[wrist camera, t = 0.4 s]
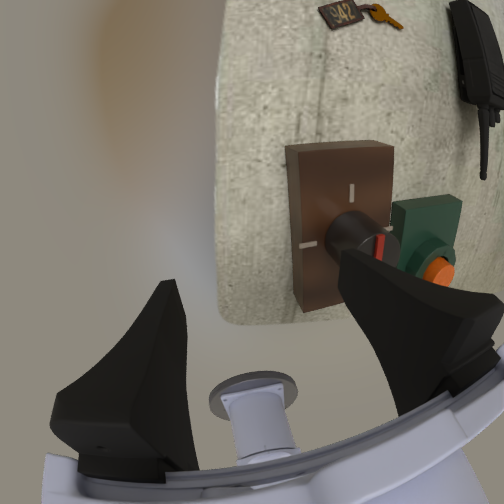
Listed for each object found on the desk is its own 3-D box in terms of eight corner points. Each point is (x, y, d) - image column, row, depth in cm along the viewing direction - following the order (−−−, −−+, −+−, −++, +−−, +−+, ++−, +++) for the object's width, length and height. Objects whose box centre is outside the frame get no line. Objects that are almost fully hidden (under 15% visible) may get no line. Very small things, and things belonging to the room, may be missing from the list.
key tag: (325, 29, 15) (328, 28, 15) (314, -2, 14) (317, -4, 13) (402, 29, 15) (406, 28, 15) (393, 2, 14) (397, 0, 13)
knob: (369, 254, 22) (397, 282, 19) (324, 265, 22) (347, 297, 18) (374, 206, 20) (407, 230, 16) (324, 214, 20) (352, 241, 16)
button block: (434, 269, 30) (453, 286, 26) (380, 286, 29) (398, 308, 26) (449, 193, 25) (474, 207, 21) (392, 201, 24) (418, 218, 20)
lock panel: (366, 275, 28) (382, 292, 25) (290, 294, 27) (300, 315, 24) (376, 139, 21) (398, 146, 18) (280, 145, 20) (294, 152, 17)
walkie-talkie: (488, 20, 12) (503, 180, 20) (443, 12, 15) (459, 170, 24) (496, 1, 8) (518, 191, 16) (443, -9, 11) (466, 179, 19)
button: (440, 280, 26) (449, 289, 24) (418, 289, 25) (427, 298, 24) (447, 253, 24) (458, 261, 23) (425, 260, 24) (436, 269, 22)
